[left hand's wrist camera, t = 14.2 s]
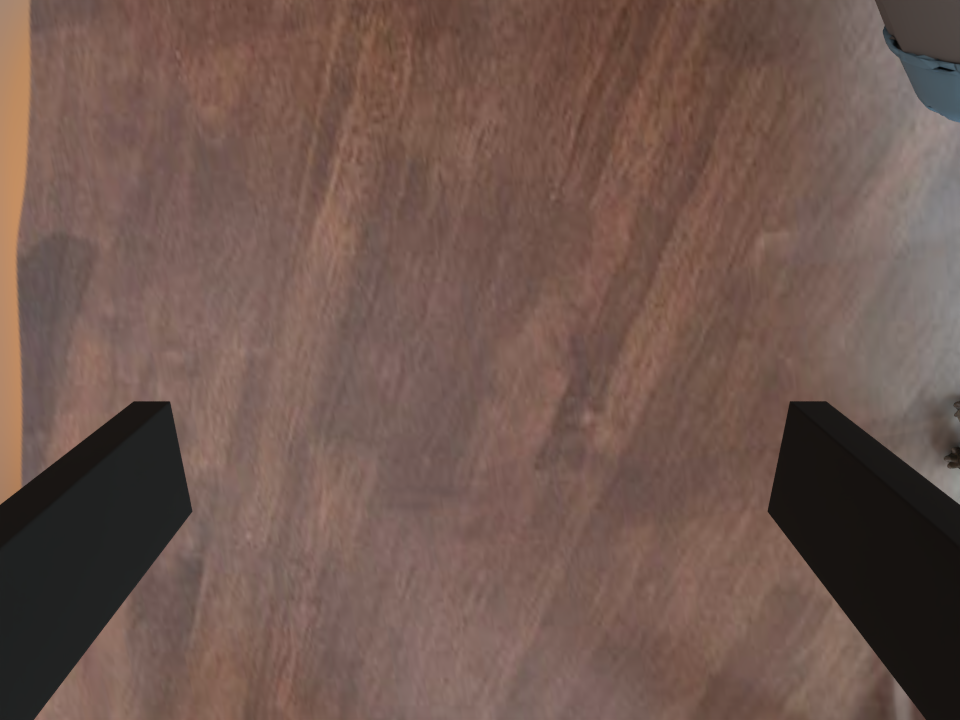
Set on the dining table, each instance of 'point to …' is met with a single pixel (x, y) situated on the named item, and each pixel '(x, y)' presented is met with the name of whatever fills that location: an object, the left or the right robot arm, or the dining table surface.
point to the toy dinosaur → (955, 459)
